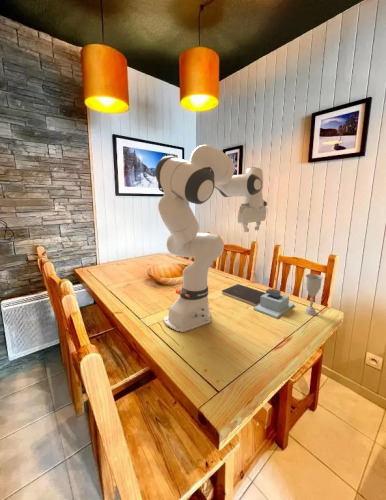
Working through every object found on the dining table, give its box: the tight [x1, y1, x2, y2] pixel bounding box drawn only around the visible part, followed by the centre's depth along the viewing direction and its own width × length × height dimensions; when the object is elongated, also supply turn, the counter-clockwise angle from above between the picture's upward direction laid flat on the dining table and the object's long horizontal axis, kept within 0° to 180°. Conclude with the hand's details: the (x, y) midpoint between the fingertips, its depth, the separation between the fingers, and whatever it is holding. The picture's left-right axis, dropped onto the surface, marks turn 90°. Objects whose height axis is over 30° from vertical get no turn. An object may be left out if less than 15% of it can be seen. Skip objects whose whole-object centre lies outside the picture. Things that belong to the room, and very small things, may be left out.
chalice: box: [304, 273, 324, 316], centre depth 105 cm, size 7×7×18 cm
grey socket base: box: [253, 292, 295, 319], centre depth 111 cm, size 18×12×6 cm, turn 133°
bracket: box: [265, 288, 282, 300], centre depth 112 cm, size 3×6×8 cm, turn 43°
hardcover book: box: [221, 283, 266, 307], centre depth 127 cm, size 16×23×2 cm
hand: (251, 231), depth 113 cm, fingers open, 8 cm apart
